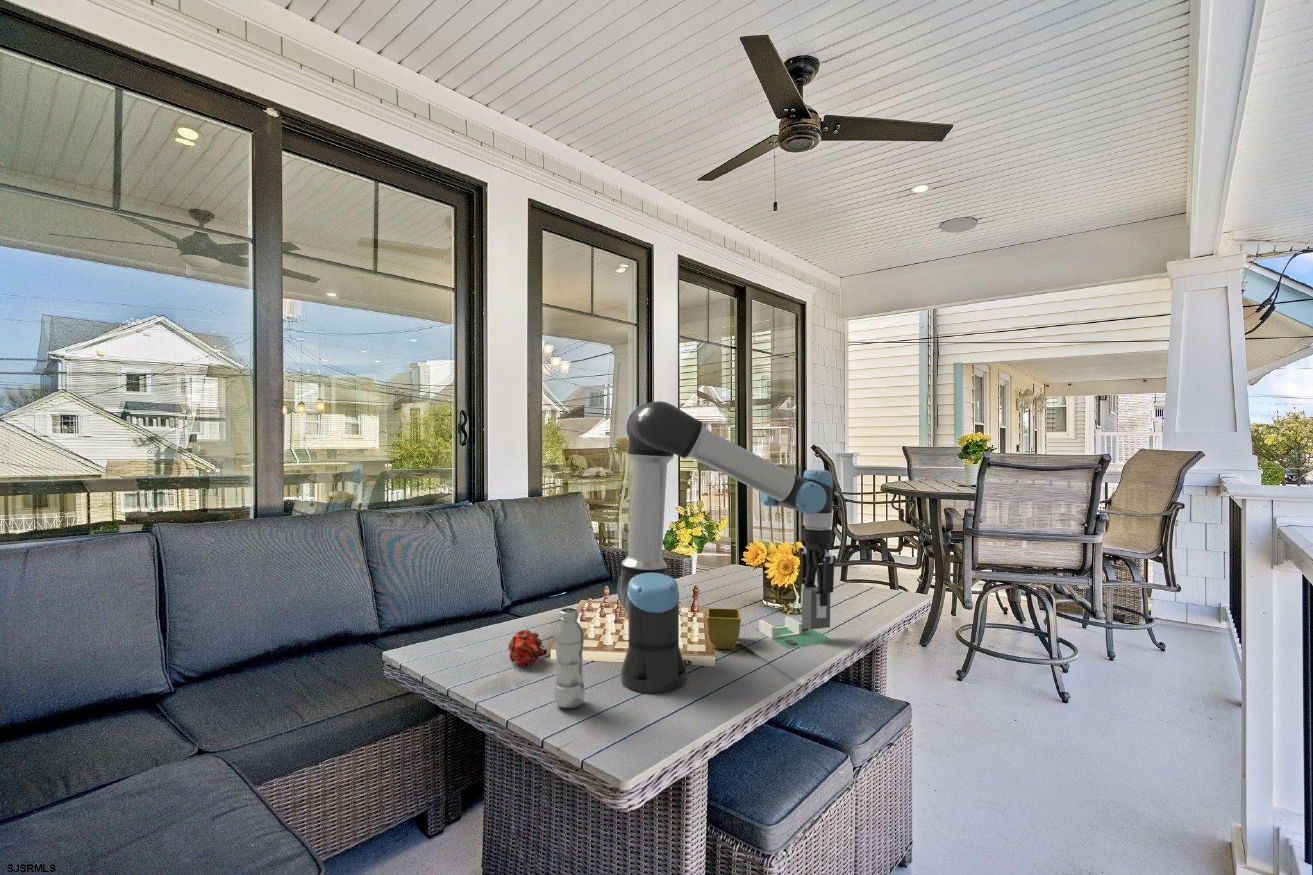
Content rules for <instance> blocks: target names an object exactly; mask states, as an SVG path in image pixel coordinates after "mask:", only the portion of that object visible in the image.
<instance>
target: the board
mask: <svg viewBox="0 0 1313 875" xmlns="http://www.w3.org/2000/svg"><path fill="white" fill-rule="evenodd" d="M784 622H785V624H781V625H772V624H770V623H768V622H766V621H765V620H763V619H759V620H758V628H755V631H757V632H759V633H761V634H763V635H764V636H765V637H767V638H769V639H770V640H772V641H774V642H775V643H777V644H778V645H780V646H782V647H783V648H785V649H795V648H796V649H797V648H801V647H810V646H816V645H823V644H827V643H828V644H830V643H836V642H837V641H836V640H834V639H832V638H830V637H828V636H826V635H824V634H823V633H820V632H819V631H817V630H816V629H809V628H807V627H805V626H803V625H802V622H800V621H798V620H796V619H794V618H792V617H790V616H784Z"/></svg>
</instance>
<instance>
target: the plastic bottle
mask: <svg viewBox="0 0 1313 875" xmlns="http://www.w3.org/2000/svg"><path fill="white" fill-rule="evenodd" d="M578 611H579V610H578V609H577V608H576V607H565V608H561V609H560V611H559V612H560V613H559V614H560V615H559V620H560V623H559V624H558V626H556V628H555V631H554V634H553V643H554V648H555V656H556V676H555V678H556V679H555V684H554V685H555V686H554V692H553V693H554V694H553V695H554V701H555V703H556V705H557V706H558V707H559V708H563V709H576V708H577V707H579V706H582V704H583V702H584V700H585V697H586V688H585V683H584V677H583V650H584V649H583V648H584V641H585V632H584V629H583V627H582V626H581V625H580V623H579V622H578V619H579V615H578V614H579V613H578Z"/></svg>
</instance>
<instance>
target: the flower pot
mask: <svg viewBox="0 0 1313 875" xmlns="http://www.w3.org/2000/svg"><path fill="white" fill-rule="evenodd" d="M706 614H707V615H706V619H707V631H708V637H709V641H710V643H711V645H712V644H713V645H714V646H715V648H714V649H715V650H716V649H718V650H733V649H735V646H736V645H737V643H738V640H739V638H740V629H741V622H742V621H741V620H742V617H741V610H740V609H738V608H721V607H720V608H719V607H716V608H715V607H714V608H713V607H712V608H711V607H708V608H707V613H706Z"/></svg>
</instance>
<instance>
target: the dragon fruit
mask: <svg viewBox="0 0 1313 875" xmlns="http://www.w3.org/2000/svg"><path fill="white" fill-rule="evenodd" d="M544 648H545V646H544V645H543V642H542V640H541V639H540V638H539V633H537V632H532V631H531V630H529V629H523V630H519V631H518V632H517V633H515V634H514V635H513V636H512V639H511V640H510V641H509V643H508V651H509V659H510V662H512V663H515V662H516V663H517V664H518V665H519V666H520V667H521V668H530V666H529V664H537V663H538V662H539V661H540V658H541V657H544V656H546V654H547V652H548V649H547V648H545V649H544Z"/></svg>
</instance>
